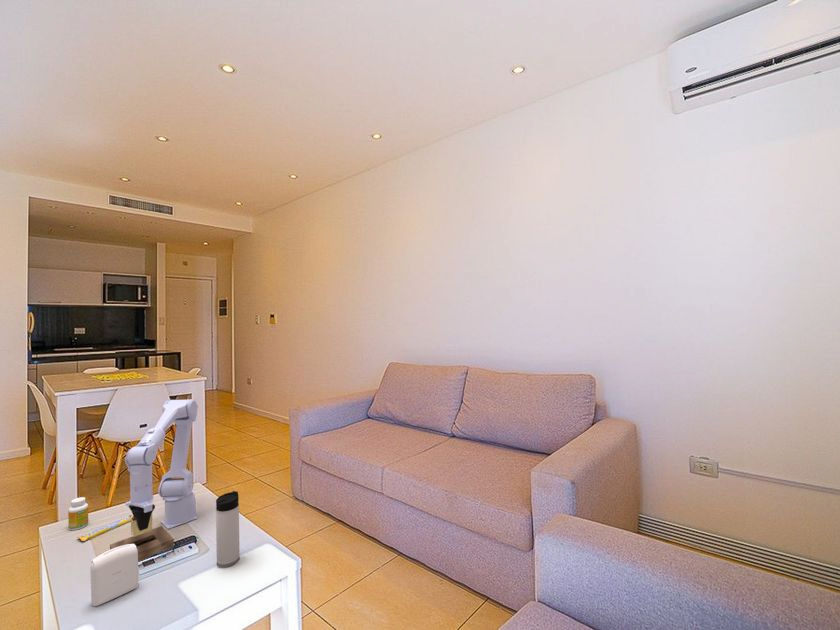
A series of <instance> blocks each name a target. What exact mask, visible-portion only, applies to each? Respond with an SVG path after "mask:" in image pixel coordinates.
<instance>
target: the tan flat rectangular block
mask: <svg viewBox="0 0 840 630" xmlns="http://www.w3.org/2000/svg"><path fill="white" fill-rule="evenodd" d="M132 517H133V516H132ZM132 517H131V522H130V525H131V526H130V530H131V531H130V532H131V534H130V535H131V537H132V536H133V537H135V536H138V535H141V534H143V533H146V532H149V531H152V529H153V513H152V514H151V517H150V521H149V525H148V528H147V529H144V530H141V531H140V530H139V528H138V523H137V519H136V517H133V518H132Z"/></svg>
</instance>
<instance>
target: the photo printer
mask: <svg viewBox="0 0 840 630" xmlns="http://www.w3.org/2000/svg"><path fill="white" fill-rule="evenodd" d="M139 581H140V580H139V566H138V550H137V548H136V545H135V544H127V545H123V546H119V547H116V548H113V549H111V550H110V549H109V550H107V551H105V552H102V553H101V554H98V556H96V557H94V558H93V559H92V560H91V566H90V598H91V599H90V600H91V601H90V602H91V603H90V604H91V606H93V607H99V606H100V605H103V604H104V603H107V602H109V601H112V600H115V598H118V597H120V596H122V595H125V594H126V593H128V592H130V591H133V590H135V589H137V588H138V587H139V584H140V583H139Z"/></svg>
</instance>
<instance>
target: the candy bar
mask: <svg viewBox="0 0 840 630" xmlns="http://www.w3.org/2000/svg"><path fill="white" fill-rule="evenodd" d="M133 517H134V516H133V514H132V515H130V514H129V516H126V517H124V518H121V519H119V520H117V521H114V522H112V523H109V524H106V525H105V526H103V527H100V528H97V529H95V530H92V531H90V532H87V533H84V534H83V535H81V536H77V537H76V538H77V539H79V540H80V541H81V542H85V541H88V540H92V539H94V538H96V537H98V536H102V535H103V534H106V533H108V532H110V531H112V530H115V529H117V528H120V527H122V526H125V525H126V524H129V523H131V518H133Z"/></svg>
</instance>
